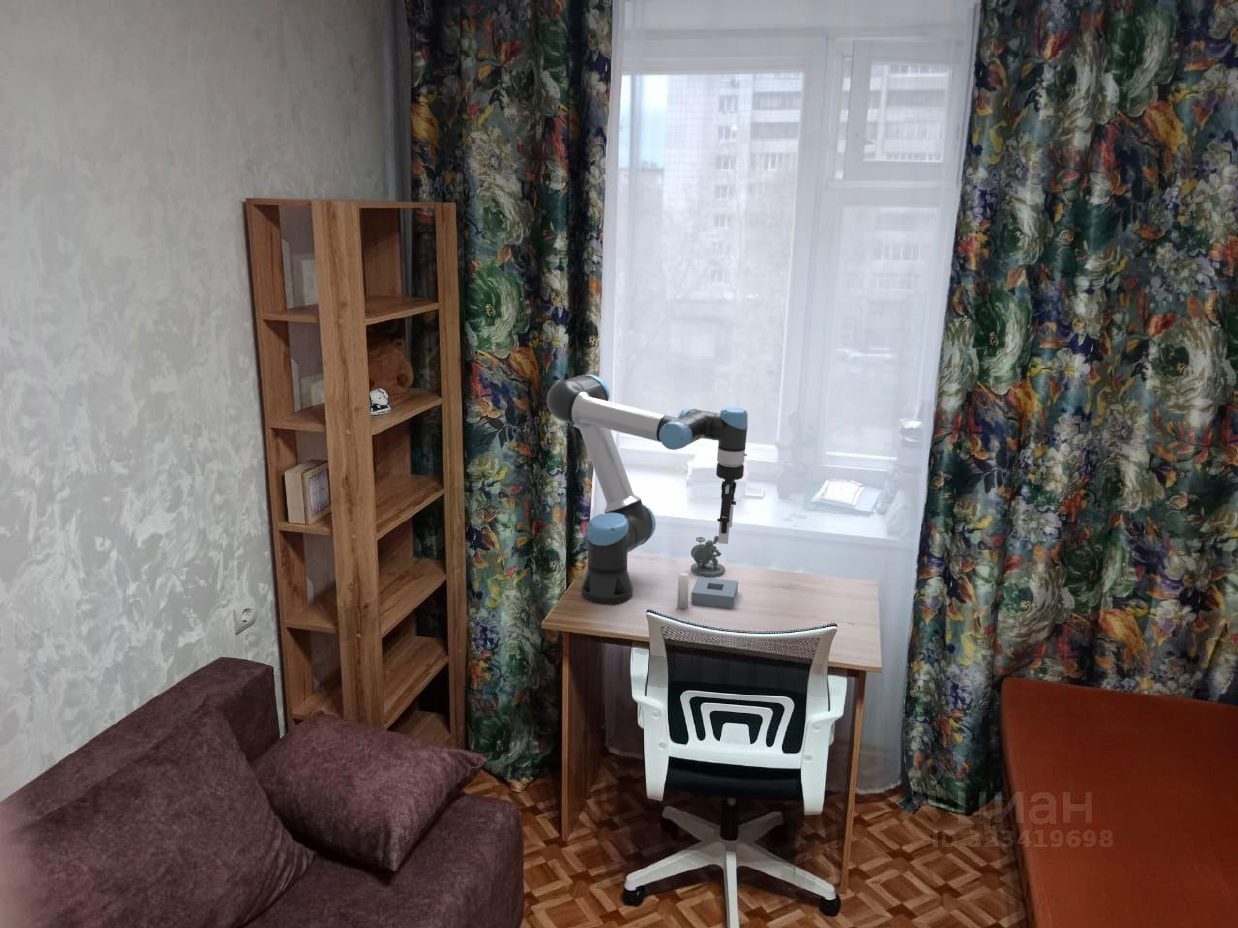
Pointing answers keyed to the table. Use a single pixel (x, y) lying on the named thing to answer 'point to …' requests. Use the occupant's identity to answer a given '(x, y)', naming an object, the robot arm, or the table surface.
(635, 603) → the table surface
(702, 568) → the figurine
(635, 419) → the robot arm
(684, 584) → the peg
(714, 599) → the hole block
